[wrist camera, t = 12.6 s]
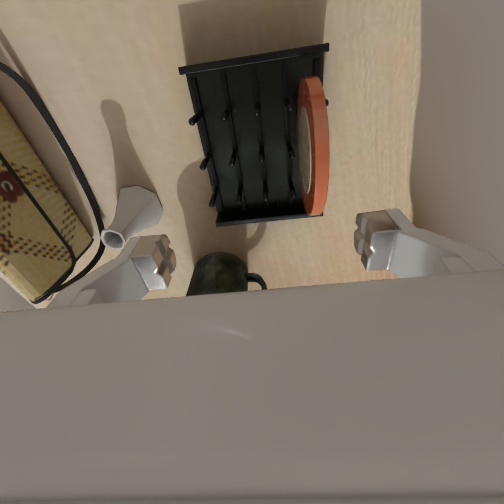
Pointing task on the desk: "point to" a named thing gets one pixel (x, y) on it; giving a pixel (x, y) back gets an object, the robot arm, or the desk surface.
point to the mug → (221, 276)
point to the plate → (312, 144)
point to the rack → (252, 131)
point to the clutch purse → (38, 212)
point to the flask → (131, 216)
